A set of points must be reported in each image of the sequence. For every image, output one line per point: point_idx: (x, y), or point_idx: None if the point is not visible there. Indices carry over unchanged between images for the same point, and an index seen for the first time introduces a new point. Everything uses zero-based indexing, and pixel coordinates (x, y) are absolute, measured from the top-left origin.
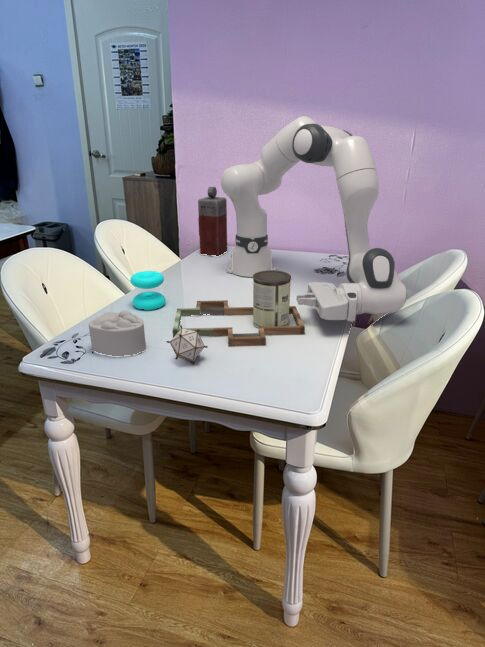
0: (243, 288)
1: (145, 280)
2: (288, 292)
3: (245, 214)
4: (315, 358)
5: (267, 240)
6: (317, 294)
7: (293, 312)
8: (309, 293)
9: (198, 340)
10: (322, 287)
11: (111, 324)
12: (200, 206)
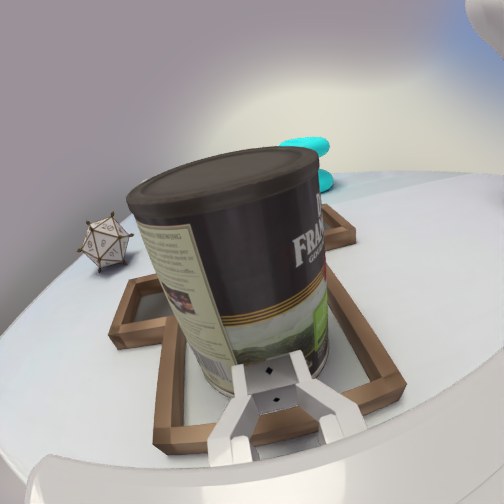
0: (472, 235)
1: (280, 145)
2: (185, 282)
3: None
4: (35, 441)
5: None
6: (263, 477)
7: (343, 395)
8: (347, 414)
9: (88, 243)
10: (478, 467)
11: (140, 183)
12: None
